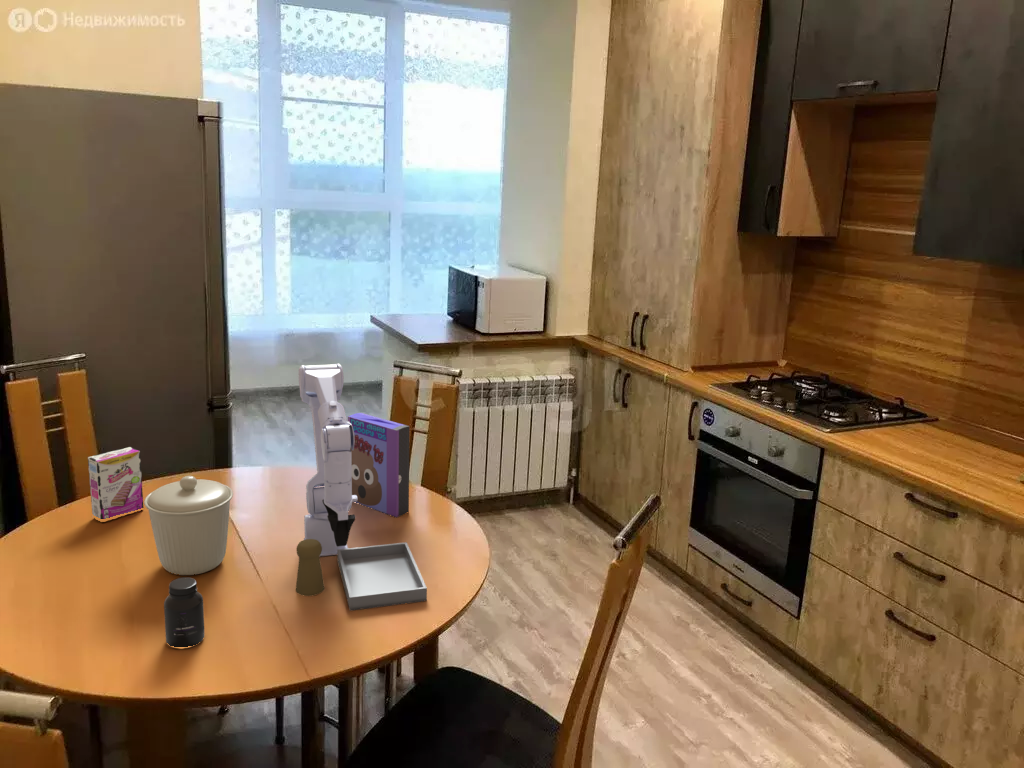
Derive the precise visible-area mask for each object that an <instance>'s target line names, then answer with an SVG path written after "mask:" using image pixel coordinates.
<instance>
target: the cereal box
mask: <svg viewBox="0 0 1024 768" xmlns="http://www.w3.org/2000/svg"><path fill="white" fill-rule="evenodd" d="M347 422H350V423H351V424H352V427H353V431H354V439H355V443H354V450H353V451H352V449H351V448H350V450H351V458H352V461H351V462H352V495H356V496H357V498H358V500H357V501H354V502H356V503H355V504H357V503H359V504H358V505H360V504H361V506H362V505H363V506H362V507H365V506H366V508H368V507H369V508H368V509H371V508H372V509H371V510H374V511H377V512H379V513H382V514H384V513H385V515H387V516H390V515H391V516H390V517H393V516H394V517H393V518H395V517H396V519H397V518H399V517H402V516H403V514H404V515H406V514H407V512H408V513H409V511H410V510H409V509H410V507H409V505H410V503H409V502H410V425H407V424H403V423H399V422H395V421H392V420H389V419H384V418H381V417H377V416H373V415H370V414H366V413H363V412H357V413H353V414H351V415H348V416H347ZM354 502H353V503H354ZM405 513H406V514H405Z"/></svg>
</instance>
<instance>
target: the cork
mask: <svg viewBox="0 0 1024 768" xmlns="http://www.w3.org/2000/svg"><path fill="white" fill-rule="evenodd" d="M321 551H322V547H321V543H320V542H319V541H317V540H315V539H306V540H304V539H303V540H301V541H300V542H298V544H297V546H296V555H297V557H298V565H297V573H296V574H297V575H296V582H295V583H296V585H295V592H296V593H297V594H298V595H300V596H303V595H304V596H305V597H309V596H310V597H311V596H312V595H313V596H317V595H319V594H321V593H322V592H323V591H324V590H325V582H324V576H323V571H322V566H321V565H322V564H321V558H320V557H321V556H320V554H321ZM304 596H303V597H304Z"/></svg>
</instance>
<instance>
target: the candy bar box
mask: <svg viewBox="0 0 1024 768" xmlns="http://www.w3.org/2000/svg"><path fill="white" fill-rule="evenodd" d="M141 461H142V460H141V451H140V450H138V449H136V448H134V447H132V446H128V447H125V448H121V449H120V448H119V449H116V450H112V451H107V452H104V453H99V454H96V455H92V456H87V463H88V465H87V466H88V477H89V487H90V488H89V490H90V502H91V513H92V514H93V515H94V516H96V517H98V518H100V519H106V518H110V517H113V516H116V515H120V514H124V513H128V512H131V511H135V510H138V509H141V508H144V495H143V479H142V463H141ZM93 515H92V516H93Z"/></svg>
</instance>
